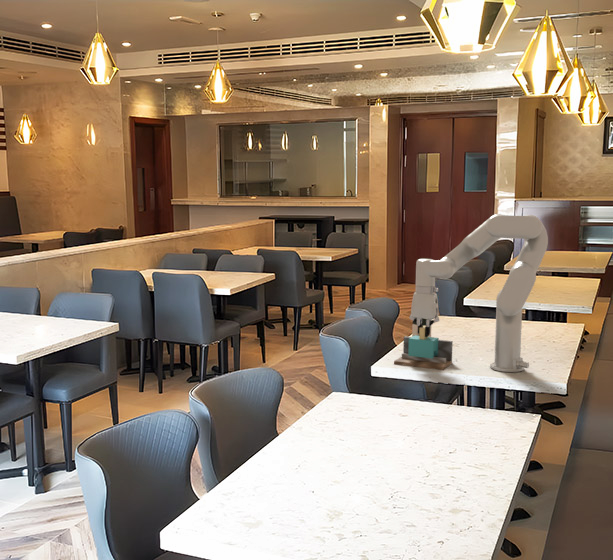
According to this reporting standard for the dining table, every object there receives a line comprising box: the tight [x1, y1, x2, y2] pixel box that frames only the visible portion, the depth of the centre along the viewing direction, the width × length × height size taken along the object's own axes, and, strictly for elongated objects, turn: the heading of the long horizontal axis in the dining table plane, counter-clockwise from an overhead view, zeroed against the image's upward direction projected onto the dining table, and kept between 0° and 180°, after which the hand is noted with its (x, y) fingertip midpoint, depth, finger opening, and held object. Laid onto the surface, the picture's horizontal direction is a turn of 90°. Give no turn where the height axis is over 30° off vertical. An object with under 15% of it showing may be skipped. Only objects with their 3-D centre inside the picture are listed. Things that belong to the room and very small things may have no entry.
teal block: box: [408, 326, 440, 359], centre depth 281 cm, size 10×7×12 cm
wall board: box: [393, 336, 454, 371], centre depth 281 cm, size 20×12×9 cm, turn 62°
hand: (423, 335), depth 281 cm, fingers closed on teal block
